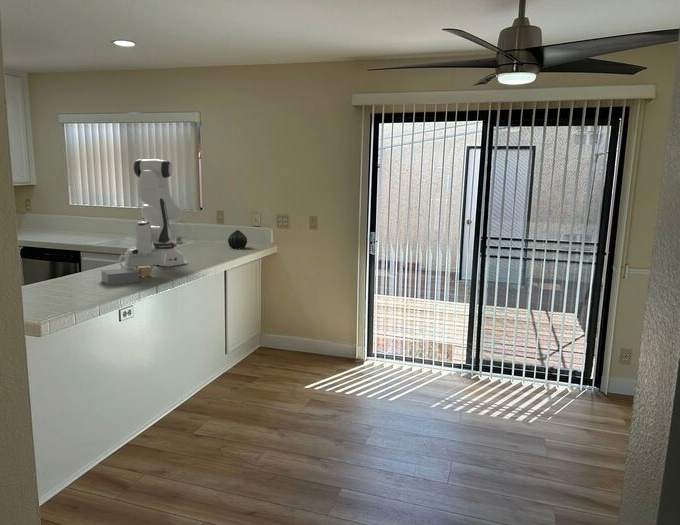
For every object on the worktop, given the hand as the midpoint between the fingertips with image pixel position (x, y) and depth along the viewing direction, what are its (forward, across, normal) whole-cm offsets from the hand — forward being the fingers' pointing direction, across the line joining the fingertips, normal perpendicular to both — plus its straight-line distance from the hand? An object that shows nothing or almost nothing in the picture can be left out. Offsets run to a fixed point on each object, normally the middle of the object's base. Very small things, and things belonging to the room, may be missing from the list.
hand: (144, 273), depth 300 cm
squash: (+2, -97, -70) cm, 120 cm away
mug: (+2, +5, -13) cm, 14 cm away
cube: (+2, 0, 0) cm, 2 cm away
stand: (+2, +16, +9) cm, 18 cm away
